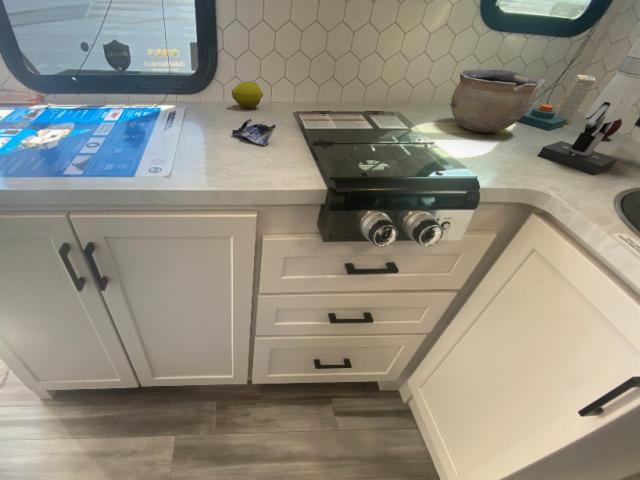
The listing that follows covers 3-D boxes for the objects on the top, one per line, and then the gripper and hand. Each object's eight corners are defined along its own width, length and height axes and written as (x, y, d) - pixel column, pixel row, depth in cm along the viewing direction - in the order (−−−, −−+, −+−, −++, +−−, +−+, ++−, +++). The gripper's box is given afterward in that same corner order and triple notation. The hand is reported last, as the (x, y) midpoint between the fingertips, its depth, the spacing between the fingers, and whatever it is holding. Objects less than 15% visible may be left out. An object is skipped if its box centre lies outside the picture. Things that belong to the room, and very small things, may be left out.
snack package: (233, 147, 94) (276, 146, 95) (233, 121, 91) (277, 120, 91) (231, 139, 104) (269, 138, 105) (231, 115, 100) (270, 114, 101)
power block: (563, 126, 116) (571, 113, 113) (547, 130, 112) (556, 117, 110) (527, 116, 123) (534, 103, 121) (511, 119, 120) (518, 107, 117)
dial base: (611, 167, 92) (619, 158, 90) (593, 175, 88) (601, 165, 86) (555, 149, 100) (561, 140, 98) (537, 155, 96) (543, 146, 95)
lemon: (261, 105, 123) (263, 79, 117) (263, 111, 117) (265, 84, 112) (231, 104, 123) (231, 78, 117) (231, 110, 117) (231, 83, 111)
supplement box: (568, 124, 117) (597, 80, 108) (551, 121, 119) (578, 78, 110) (567, 118, 123) (594, 75, 113) (551, 116, 124) (577, 73, 115)
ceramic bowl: (481, 144, 101) (510, 86, 91) (425, 121, 115) (445, 68, 105) (529, 136, 108) (562, 80, 98) (471, 115, 122) (495, 64, 112)
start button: (552, 112, 115) (555, 106, 114) (546, 113, 114) (550, 107, 112) (541, 109, 117) (544, 103, 116) (535, 110, 116) (539, 104, 115)
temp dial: (575, 148, 94) (589, 127, 91) (593, 153, 92) (608, 132, 88) (567, 150, 93) (581, 130, 89) (585, 156, 90) (600, 135, 86)
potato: (601, 133, 112) (618, 109, 107) (615, 142, 106) (634, 118, 101) (576, 130, 113) (592, 107, 108) (588, 139, 107) (606, 115, 102)
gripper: (636, 62, 84) (582, 139, 97) (604, 67, 78) (551, 149, 91) (675, 68, 80) (613, 148, 93) (644, 74, 73) (582, 159, 86)
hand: (583, 148), depth 92 cm, fingers closed on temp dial, 4 cm apart
